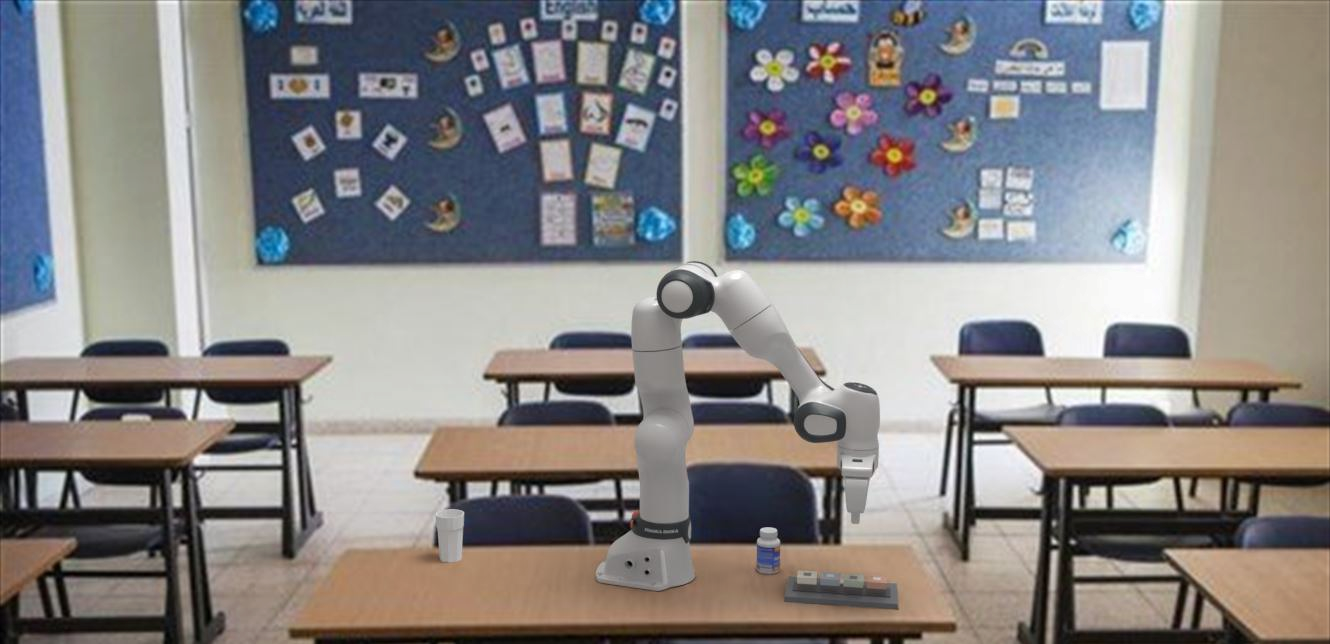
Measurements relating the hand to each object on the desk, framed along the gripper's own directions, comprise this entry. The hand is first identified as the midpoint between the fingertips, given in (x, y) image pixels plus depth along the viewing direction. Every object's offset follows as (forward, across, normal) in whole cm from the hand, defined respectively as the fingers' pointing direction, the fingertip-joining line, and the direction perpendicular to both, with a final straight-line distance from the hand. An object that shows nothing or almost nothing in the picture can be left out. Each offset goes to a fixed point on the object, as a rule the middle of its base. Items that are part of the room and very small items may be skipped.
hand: (855, 520), depth 269 cm
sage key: (+14, 0, 0) cm, 14 cm away
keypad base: (+17, 0, -2) cm, 17 cm away
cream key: (+14, 0, -10) cm, 17 cm away
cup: (+17, -6, -93) cm, 95 cm away
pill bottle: (+17, -12, -20) cm, 29 cm away
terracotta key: (+14, 0, +5) cm, 15 cm away
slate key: (+14, 0, -5) cm, 15 cm away
